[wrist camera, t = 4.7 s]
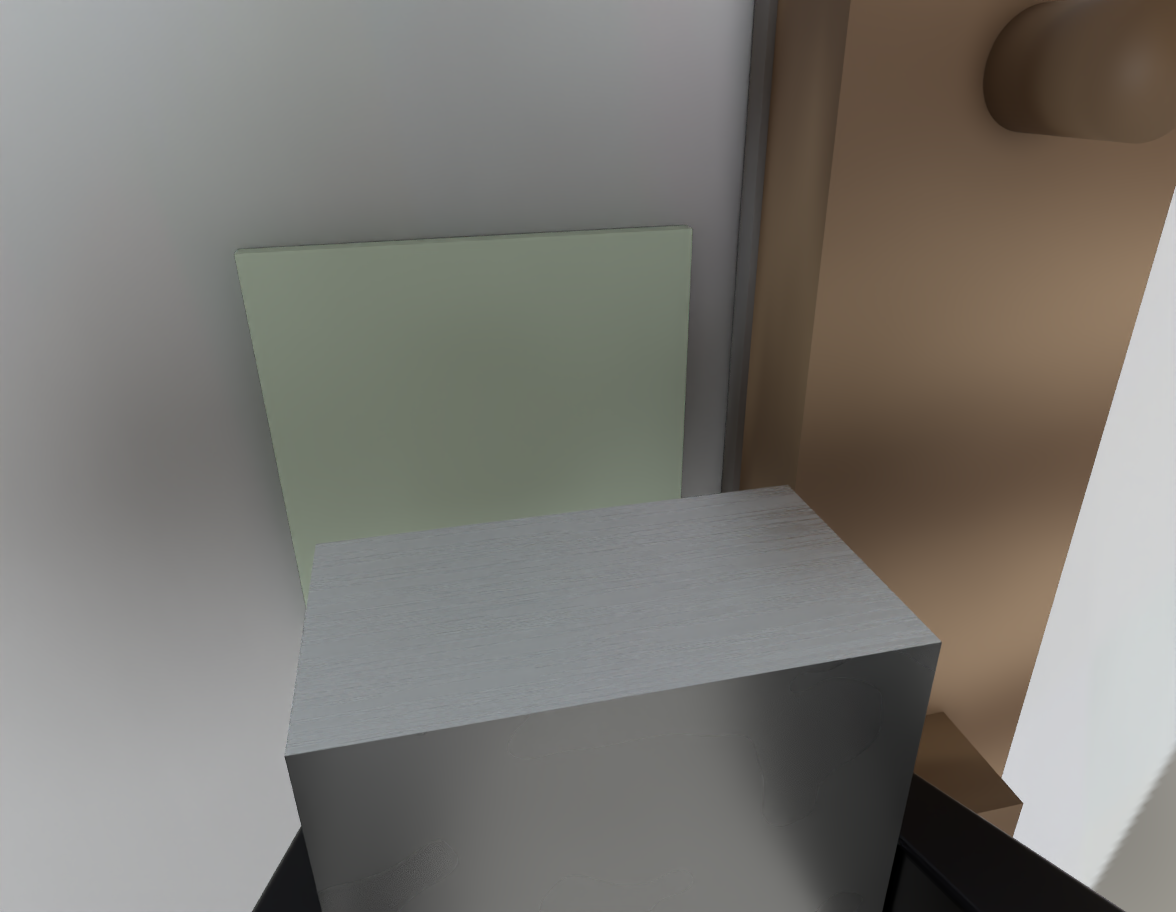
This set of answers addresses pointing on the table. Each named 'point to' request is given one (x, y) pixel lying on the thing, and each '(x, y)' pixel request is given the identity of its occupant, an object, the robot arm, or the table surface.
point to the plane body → (948, 307)
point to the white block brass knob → (607, 714)
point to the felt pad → (470, 377)
